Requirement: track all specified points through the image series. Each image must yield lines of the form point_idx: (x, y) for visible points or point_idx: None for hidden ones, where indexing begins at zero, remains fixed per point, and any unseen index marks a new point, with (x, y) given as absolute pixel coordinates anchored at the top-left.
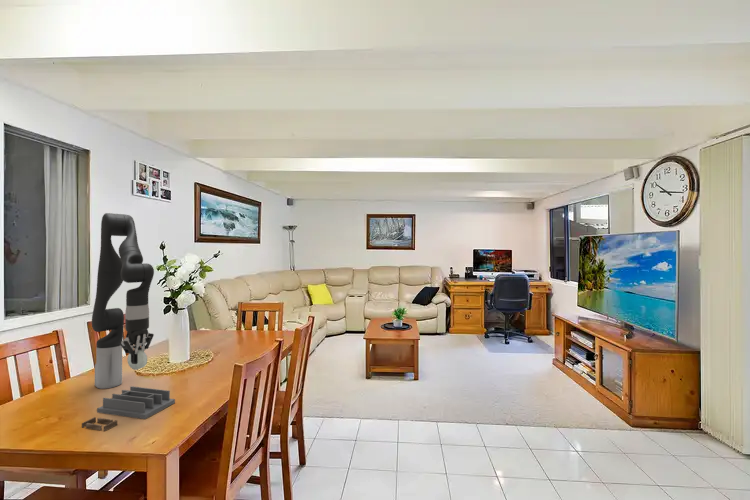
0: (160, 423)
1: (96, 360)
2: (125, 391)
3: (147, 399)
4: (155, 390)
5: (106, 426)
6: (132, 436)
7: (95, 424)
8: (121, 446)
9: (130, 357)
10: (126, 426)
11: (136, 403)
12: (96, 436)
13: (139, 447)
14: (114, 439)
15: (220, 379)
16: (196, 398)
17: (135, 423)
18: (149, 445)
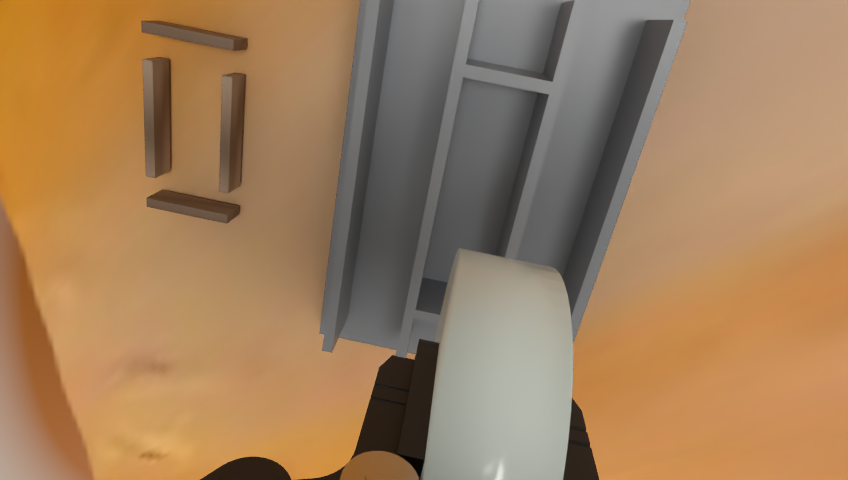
0: (302, 406)
1: None
2: (559, 49)
3: (401, 327)
4: (578, 291)
5: (159, 207)
6: (164, 355)
7: (152, 131)
8: (82, 360)
9: (440, 355)
10: (241, 269)
11: (330, 293)
12: (114, 189)
13: (100, 427)
14: (118, 295)
15: None
16: (627, 444)
17: (280, 294)
18: (124, 452)
